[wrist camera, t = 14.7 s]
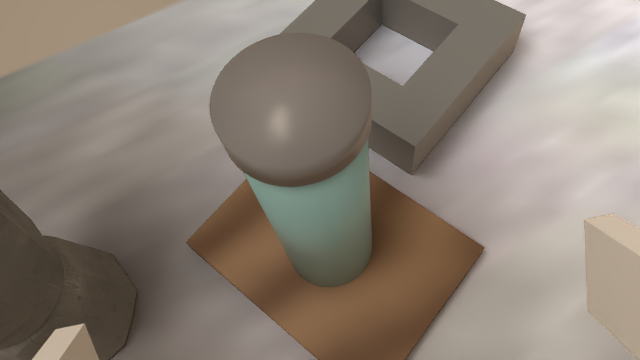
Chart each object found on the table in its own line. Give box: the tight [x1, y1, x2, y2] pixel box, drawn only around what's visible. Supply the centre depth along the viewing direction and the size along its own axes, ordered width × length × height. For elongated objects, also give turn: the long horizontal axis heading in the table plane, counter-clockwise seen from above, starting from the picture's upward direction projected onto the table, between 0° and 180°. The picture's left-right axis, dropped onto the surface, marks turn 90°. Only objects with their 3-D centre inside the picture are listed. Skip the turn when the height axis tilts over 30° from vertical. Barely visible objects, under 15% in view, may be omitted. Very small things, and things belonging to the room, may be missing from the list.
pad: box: [186, 171, 484, 360], centre depth 33 cm, size 16×12×1 cm
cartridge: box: [210, 33, 372, 287], centre depth 25 cm, size 6×6×17 cm
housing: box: [279, 0, 526, 175], centre depth 38 cm, size 14×14×4 cm
